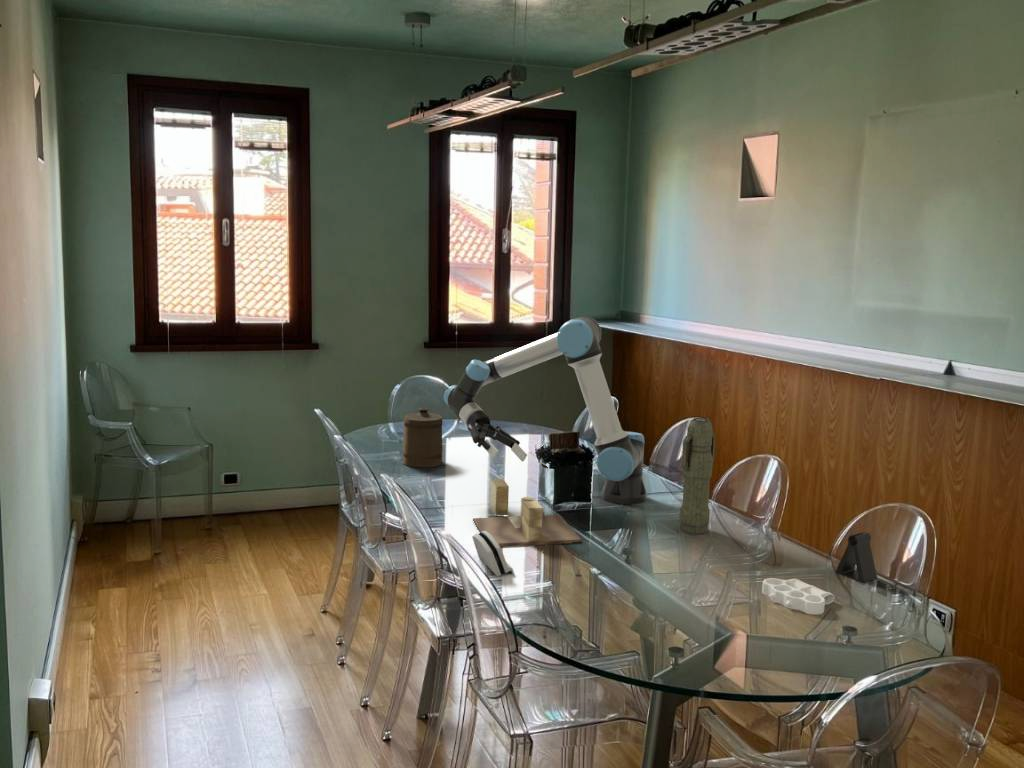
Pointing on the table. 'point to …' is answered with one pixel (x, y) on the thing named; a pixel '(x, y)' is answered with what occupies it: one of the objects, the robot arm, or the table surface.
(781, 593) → the white egg tray
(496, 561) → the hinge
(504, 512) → the tan wooden brick
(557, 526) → the mounting board
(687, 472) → the stone statue
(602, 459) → the robot arm
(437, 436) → the wooden container
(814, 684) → the table surface
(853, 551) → the phone stand
